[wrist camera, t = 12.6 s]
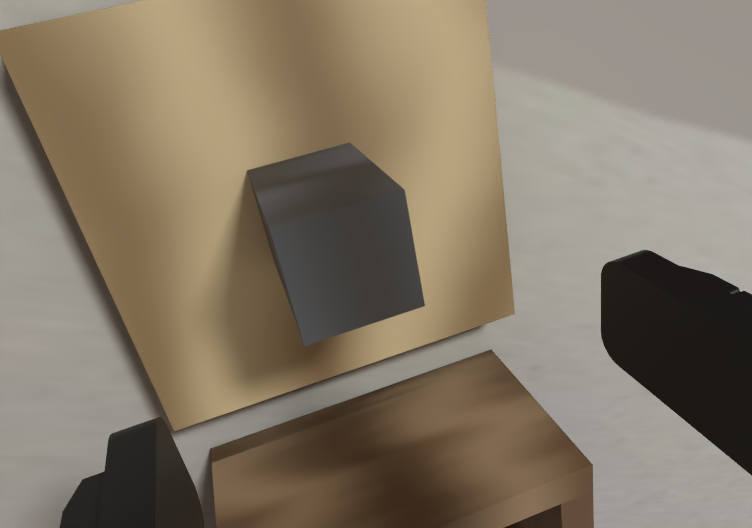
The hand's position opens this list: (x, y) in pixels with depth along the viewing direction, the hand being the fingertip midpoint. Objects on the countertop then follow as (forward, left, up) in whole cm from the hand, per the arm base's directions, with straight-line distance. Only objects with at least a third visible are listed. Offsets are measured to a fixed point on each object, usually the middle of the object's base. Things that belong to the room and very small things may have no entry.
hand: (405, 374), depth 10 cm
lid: (0, 0, -10) cm, 10 cm away
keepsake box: (0, -15, -11) cm, 19 cm away
